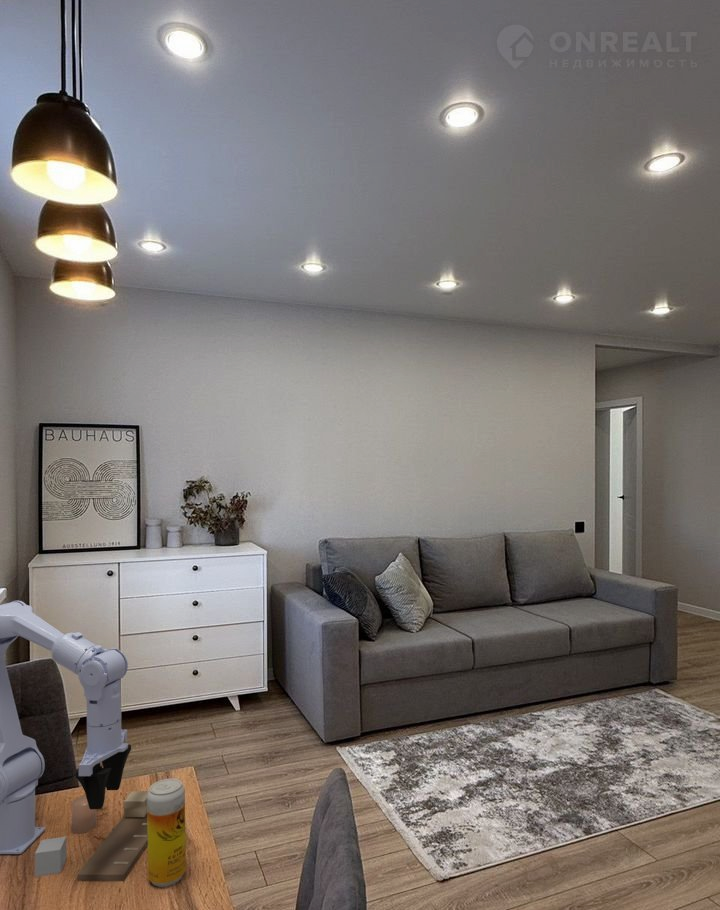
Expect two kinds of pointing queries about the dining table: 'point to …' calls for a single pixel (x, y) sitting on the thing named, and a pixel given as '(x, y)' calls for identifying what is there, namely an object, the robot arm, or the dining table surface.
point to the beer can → (166, 832)
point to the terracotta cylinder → (82, 816)
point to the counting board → (117, 851)
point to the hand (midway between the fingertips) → (104, 798)
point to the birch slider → (136, 804)
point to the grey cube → (50, 856)
